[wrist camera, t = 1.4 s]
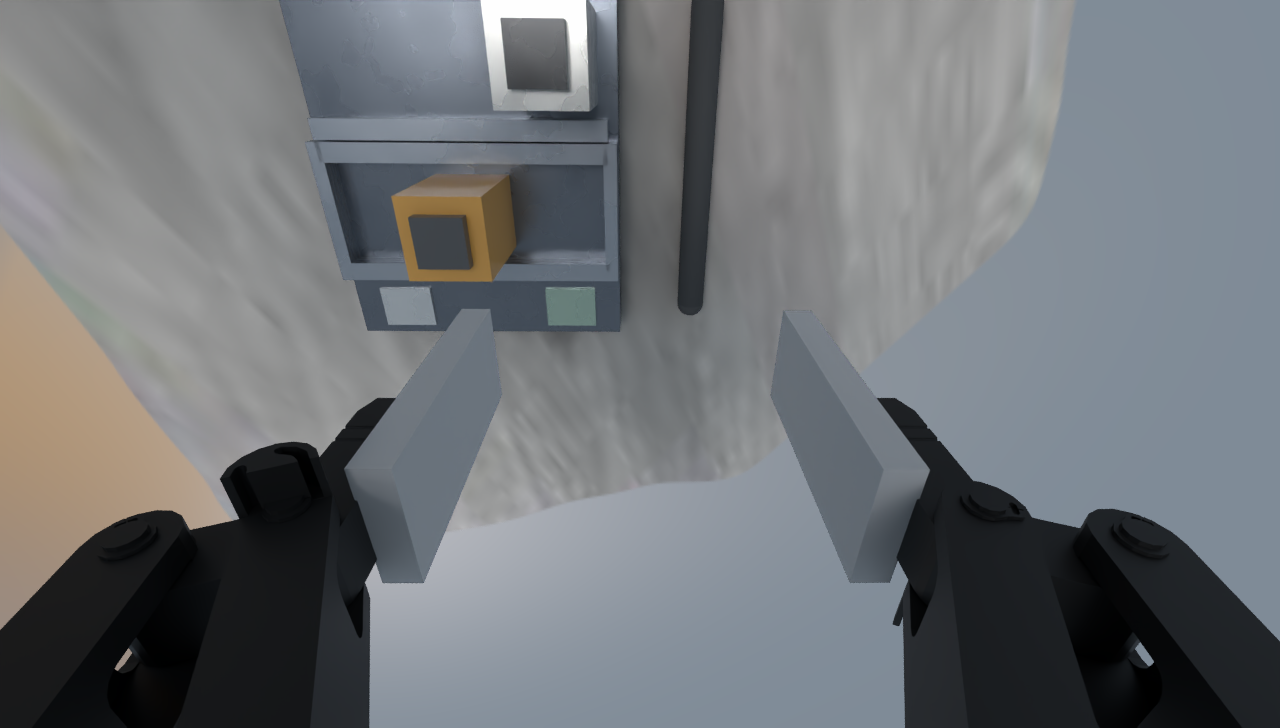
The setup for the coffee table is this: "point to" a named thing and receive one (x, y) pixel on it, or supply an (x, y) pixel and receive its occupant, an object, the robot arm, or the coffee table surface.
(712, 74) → the rod
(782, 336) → the robot arm
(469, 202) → the block
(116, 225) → the coffee table surface
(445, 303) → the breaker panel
